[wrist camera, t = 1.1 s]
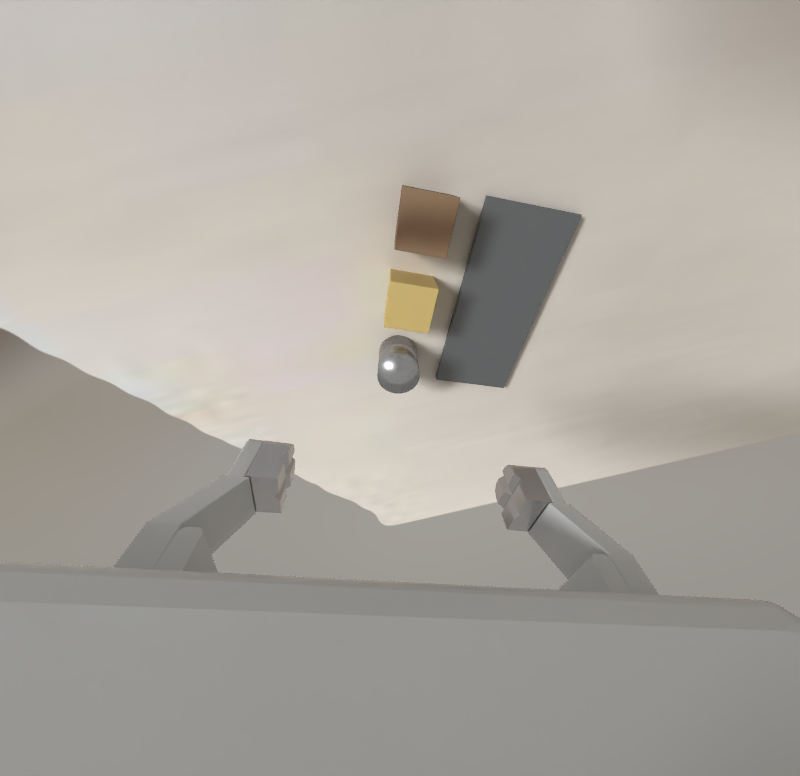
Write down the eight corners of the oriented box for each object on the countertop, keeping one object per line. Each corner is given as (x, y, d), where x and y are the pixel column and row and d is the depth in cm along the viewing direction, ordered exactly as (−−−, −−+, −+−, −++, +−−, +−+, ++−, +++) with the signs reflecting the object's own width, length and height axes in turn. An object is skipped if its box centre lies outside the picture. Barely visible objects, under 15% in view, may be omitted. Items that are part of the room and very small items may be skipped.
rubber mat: (486, 195, 30) (488, 196, 29) (577, 214, 31) (581, 214, 30) (435, 376, 42) (436, 379, 41) (501, 384, 43) (503, 387, 43)
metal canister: (381, 332, 38) (380, 355, 33) (419, 338, 39) (423, 361, 34) (377, 365, 41) (375, 390, 36) (412, 370, 41) (415, 395, 37)
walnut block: (402, 185, 29) (403, 186, 25) (451, 194, 30) (460, 197, 25) (394, 240, 32) (394, 249, 28) (439, 248, 32) (445, 258, 28)
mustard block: (390, 268, 34) (390, 281, 29) (433, 276, 34) (438, 289, 30) (384, 310, 36) (384, 327, 32) (424, 316, 37) (428, 333, 33)
